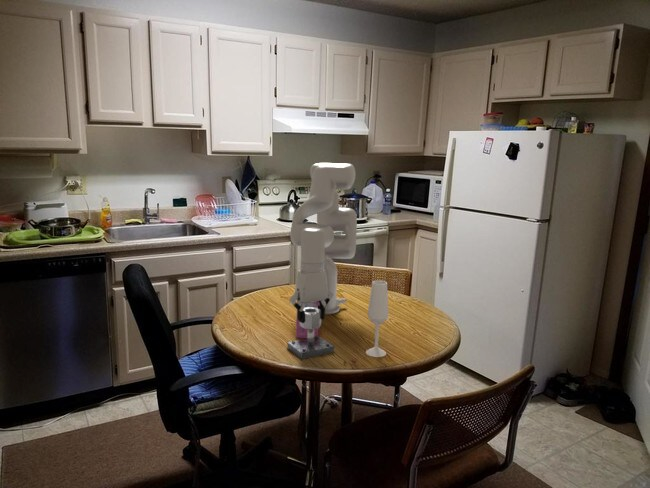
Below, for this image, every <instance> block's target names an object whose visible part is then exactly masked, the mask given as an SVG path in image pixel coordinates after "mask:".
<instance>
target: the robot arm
mask: <svg viewBox="0 0 650 488" xmlns="http://www.w3.org/2000/svg"><path fill="white" fill-rule="evenodd" d="M309 175H310V178H311V183H310V184H311V185H310V190H309V197H308V199H307V200H305V201H303V203H302V204H300V206H299V207H298V208H296V211H295V212H294V214H293V216H292V223H291V227H290V233H289V235H290V237H289V238H290V241H291V243H292V244H293V245H294V246H297V247H301V248H300V270H297V274H296V279H295V285H294V286H295V289H294V293H293V295H292V296H291V297H290V298H288V299H289V300H288V301H289V303H290V304H291V305H292V306H293V307H294V308H295V309H296V310H297V309H298V314H297V313H296V319H297V318H298V321H300V322H301V323H304V322H305V311H303V309H304V307H305V305H306V303H310V302H316V301H318V302H319V305H318V309H320V310H322V314H321V321H322V320H325V316H326V315H333V314H337V313H338V312H339V311H340V310H341V307H340V304H346V303H347V299H346V298H340V297H337V294H338V293H337V288H338V267H337V265H336V263H335V262H334V260H333V259H338V260H339V259H341V260H346V259H347V260H350V259H351V260H352V259H354V257H355V254H356V252H357V251H356V249H357V233H358V232H357V231H358V230H357V228H358V223H357V222H358V218H357V213H356V211H355V209H353V208H349V207H340V206H339V204H340V203H339V202H340V201H339V199H340V195H339V192H338V191H337V190H350V189H351V188H352V187H353V185H354V184H355V180H356V168H355V166H354V165H353V164H352V163H336V162H335V163H334V162H333V163H332V162H319V163H318V162H317V163H314V164H312V165H311V167H310V169H309ZM314 215H316V223H303V222H304V221H305V220H306V219H308V218H310V217H311V216H314ZM335 232H339V233H340V232H341V233H342V232H343V233H344V234H335ZM297 300H299V301H298V304H297Z"/></svg>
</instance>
